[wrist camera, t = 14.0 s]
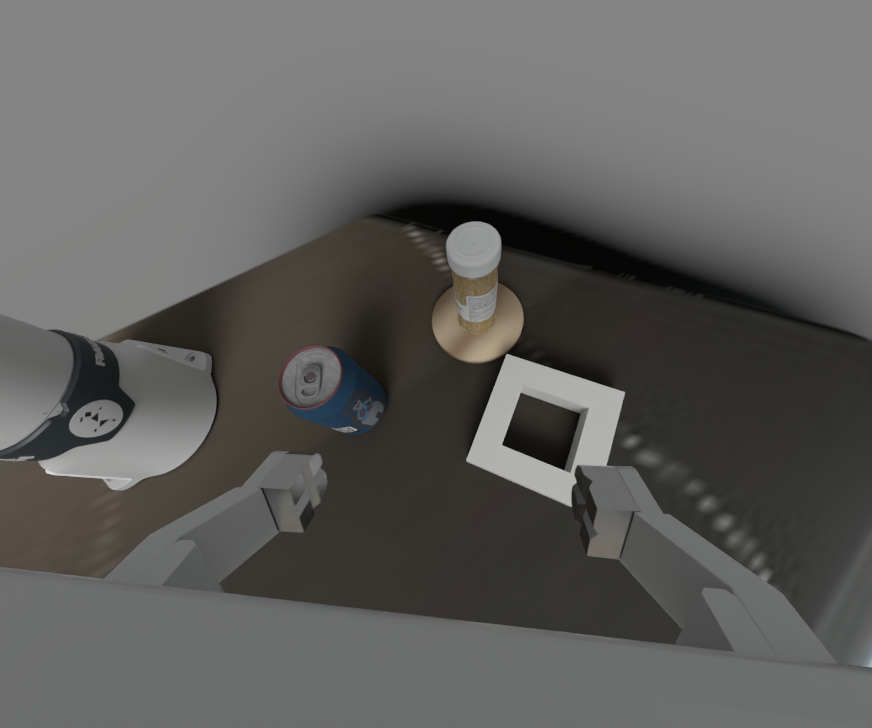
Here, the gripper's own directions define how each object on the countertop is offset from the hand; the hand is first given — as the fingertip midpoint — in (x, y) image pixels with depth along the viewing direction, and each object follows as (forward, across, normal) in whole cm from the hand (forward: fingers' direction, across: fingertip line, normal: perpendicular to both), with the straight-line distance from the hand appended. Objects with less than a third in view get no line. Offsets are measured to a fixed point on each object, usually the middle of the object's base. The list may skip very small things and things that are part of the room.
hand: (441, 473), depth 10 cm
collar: (+21, -8, +14) cm, 26 cm away
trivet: (+30, -1, +5) cm, 31 cm away
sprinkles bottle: (+30, -1, +4) cm, 30 cm away
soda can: (+23, +13, +13) cm, 29 cm away
